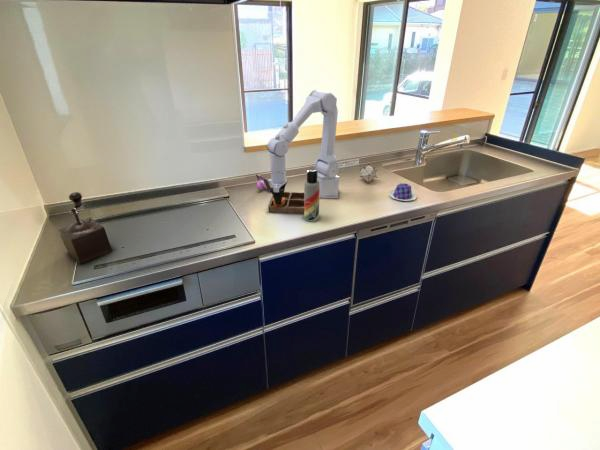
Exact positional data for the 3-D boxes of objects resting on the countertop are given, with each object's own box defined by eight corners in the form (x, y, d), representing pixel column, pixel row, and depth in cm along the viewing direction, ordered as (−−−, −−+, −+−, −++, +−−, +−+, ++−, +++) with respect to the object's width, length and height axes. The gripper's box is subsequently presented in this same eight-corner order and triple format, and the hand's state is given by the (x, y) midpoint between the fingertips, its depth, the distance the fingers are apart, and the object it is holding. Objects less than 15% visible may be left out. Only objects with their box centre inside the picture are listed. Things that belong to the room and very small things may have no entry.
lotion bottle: (308, 223, 132) (309, 173, 122) (301, 216, 136) (301, 168, 126) (321, 219, 134) (323, 171, 124) (314, 213, 138) (315, 166, 128)
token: (285, 202, 143) (285, 196, 142) (284, 207, 139) (284, 201, 138) (274, 201, 144) (274, 196, 142) (272, 206, 139) (272, 201, 138)
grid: (307, 198, 151) (308, 192, 150) (305, 214, 138) (305, 208, 137) (274, 196, 152) (274, 191, 151) (268, 212, 139) (268, 206, 138)
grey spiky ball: (364, 186, 171) (365, 167, 172) (380, 184, 165) (381, 164, 166) (355, 182, 164) (356, 162, 165) (371, 180, 158) (372, 159, 160)
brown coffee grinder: (115, 249, 116) (99, 201, 107) (80, 265, 108) (60, 214, 100) (94, 234, 124) (78, 189, 115) (60, 248, 117) (40, 200, 108)
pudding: (404, 189, 159) (406, 178, 157) (422, 199, 150) (424, 188, 147) (383, 193, 155) (384, 182, 152) (399, 204, 145) (401, 193, 143)
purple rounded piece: (268, 179, 152) (257, 173, 158) (259, 185, 150) (248, 179, 156) (273, 190, 157) (262, 184, 163) (264, 197, 155) (253, 190, 161)
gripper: (271, 163, 140) (272, 193, 147) (264, 176, 128) (266, 208, 135) (288, 163, 140) (288, 194, 147) (283, 177, 127) (284, 209, 134)
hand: (279, 201), depth 141 cm, fingers closed on token, 5 cm apart
